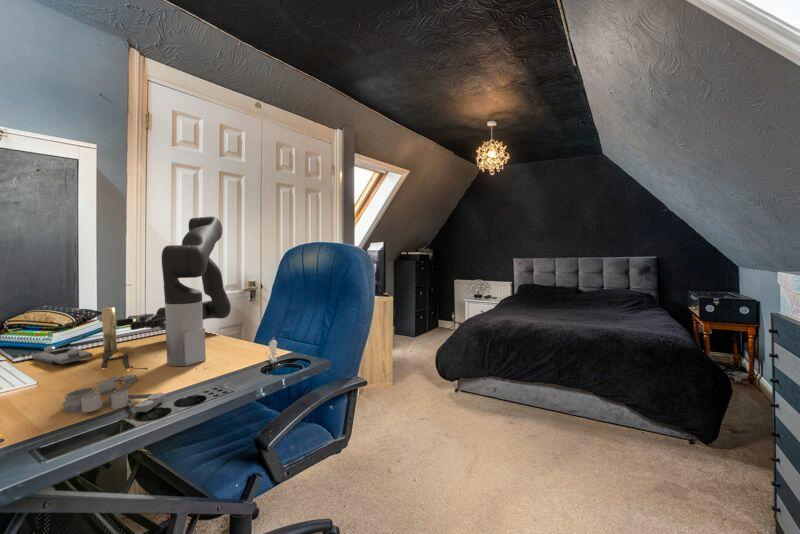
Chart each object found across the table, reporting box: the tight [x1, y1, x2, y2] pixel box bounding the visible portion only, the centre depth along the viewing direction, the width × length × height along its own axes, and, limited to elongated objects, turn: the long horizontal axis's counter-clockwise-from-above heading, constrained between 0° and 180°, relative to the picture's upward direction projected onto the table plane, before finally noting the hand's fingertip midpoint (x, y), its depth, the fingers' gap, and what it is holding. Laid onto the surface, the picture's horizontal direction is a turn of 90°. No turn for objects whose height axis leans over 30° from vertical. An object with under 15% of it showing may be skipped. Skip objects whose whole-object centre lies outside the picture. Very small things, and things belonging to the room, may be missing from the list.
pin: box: [101, 306, 118, 355], centre depth 114 cm, size 3×3×14 cm
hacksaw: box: [101, 352, 149, 374], centre depth 105 cm, size 24×10×2 cm, turn 36°
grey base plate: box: [31, 346, 93, 366], centre depth 108 cm, size 19×7×4 cm, turn 62°
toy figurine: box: [265, 337, 280, 366], centre depth 107 cm, size 5×8×7 cm, turn 42°
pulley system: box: [61, 374, 166, 414], centre depth 81 cm, size 27×5×15 cm
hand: (123, 325), depth 117 cm, fingers open, 8 cm apart
